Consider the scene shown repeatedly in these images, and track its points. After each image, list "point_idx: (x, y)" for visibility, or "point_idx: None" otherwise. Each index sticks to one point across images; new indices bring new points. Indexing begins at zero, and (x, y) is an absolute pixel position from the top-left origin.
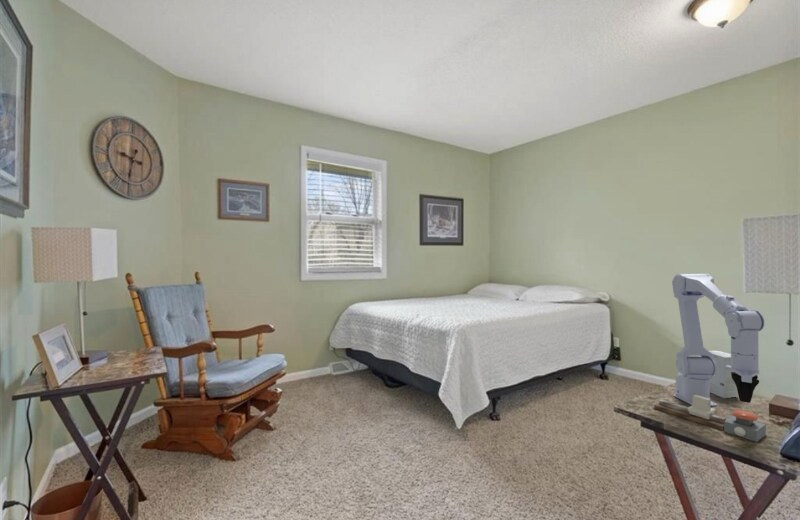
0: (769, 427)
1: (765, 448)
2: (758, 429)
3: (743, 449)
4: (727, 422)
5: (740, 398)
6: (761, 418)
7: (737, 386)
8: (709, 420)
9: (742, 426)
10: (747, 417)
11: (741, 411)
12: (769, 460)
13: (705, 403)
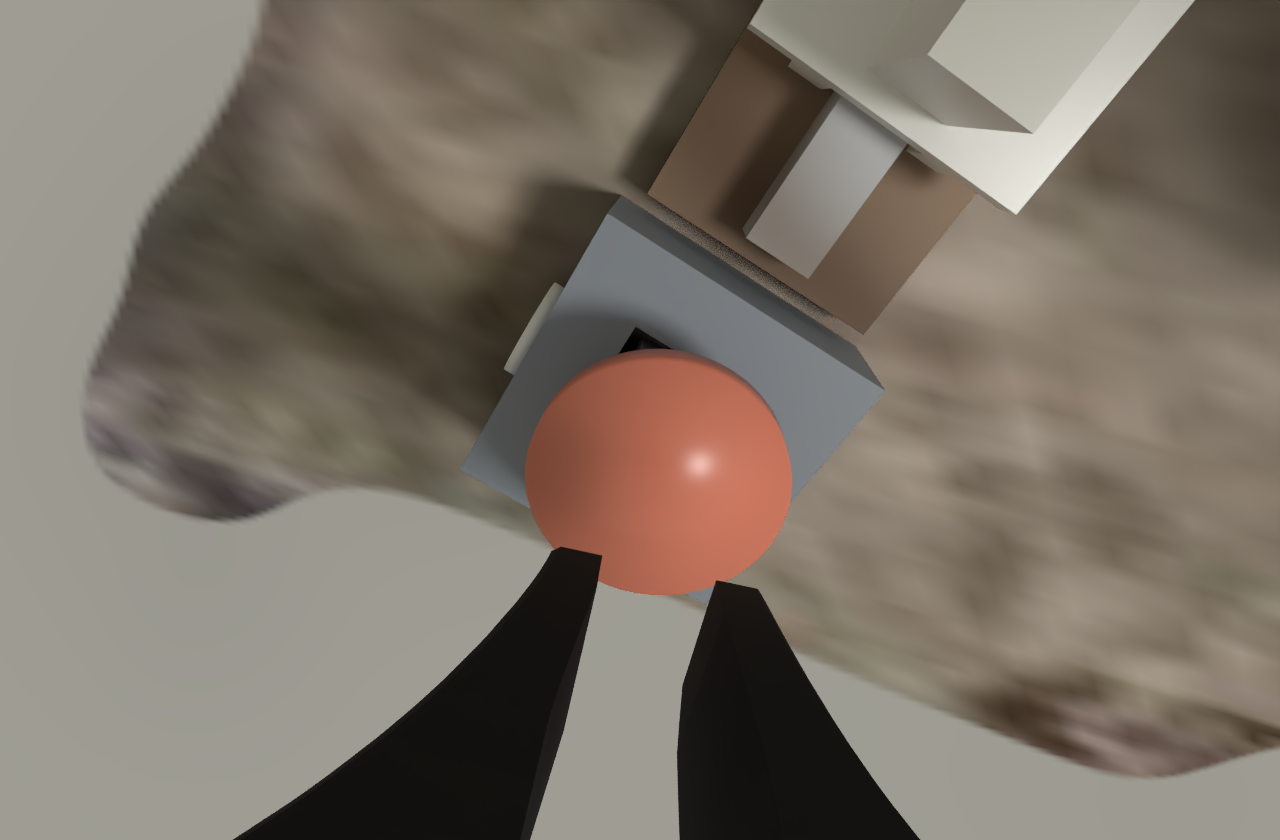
0: (902, 619)
1: (384, 438)
2: (514, 498)
3: (241, 253)
4: (591, 245)
5: (531, 584)
6: (1123, 634)
7: (341, 782)
8: (794, 75)
9: (525, 374)
10: (538, 480)
11: (748, 480)
12: (142, 388)
13: (930, 12)
